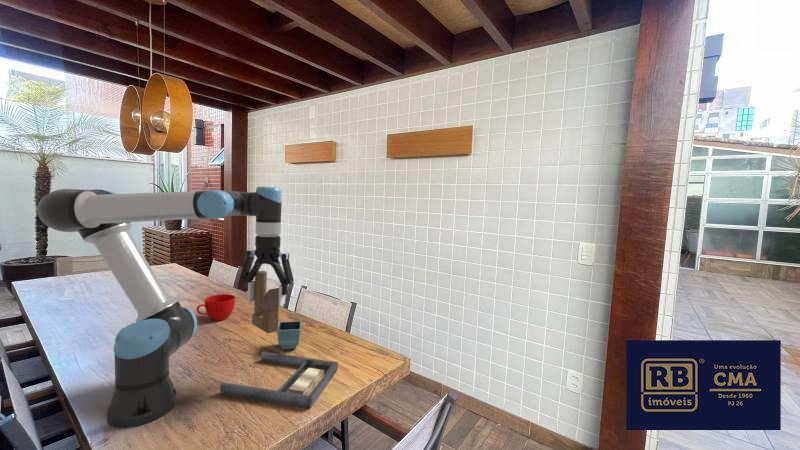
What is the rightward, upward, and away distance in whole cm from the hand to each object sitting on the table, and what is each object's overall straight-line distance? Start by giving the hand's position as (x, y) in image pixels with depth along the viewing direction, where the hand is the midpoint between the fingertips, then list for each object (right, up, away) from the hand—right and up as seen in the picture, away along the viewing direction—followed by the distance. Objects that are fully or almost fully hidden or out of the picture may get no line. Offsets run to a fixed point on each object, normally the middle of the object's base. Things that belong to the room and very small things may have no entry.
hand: (266, 302), depth 106 cm
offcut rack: (+5, -26, +1) cm, 27 cm away
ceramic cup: (-45, -20, +49) cm, 70 cm away
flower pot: (-1, -24, +25) cm, 35 cm away
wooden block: (-1, -8, +1) cm, 9 cm away
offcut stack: (+13, -27, 0) cm, 30 cm away
